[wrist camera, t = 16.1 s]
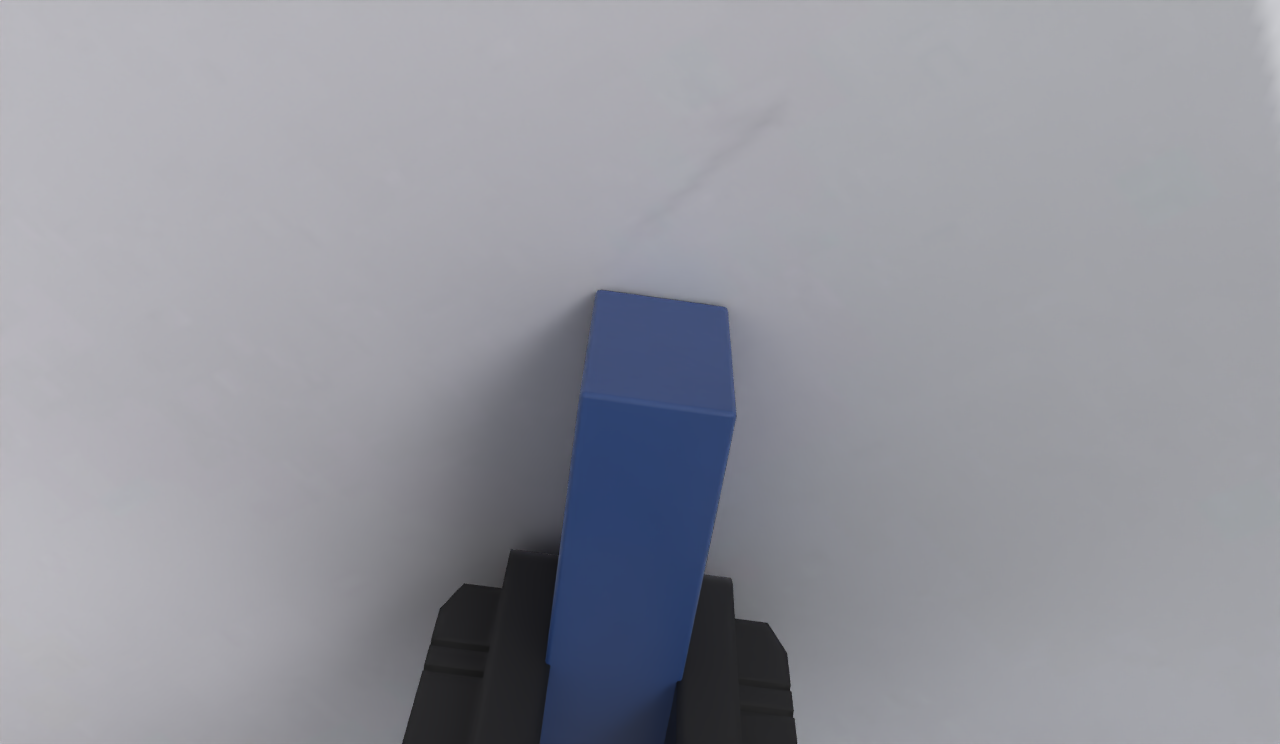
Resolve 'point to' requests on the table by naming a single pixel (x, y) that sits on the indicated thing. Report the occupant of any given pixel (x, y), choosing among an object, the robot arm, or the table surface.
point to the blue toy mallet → (637, 516)
